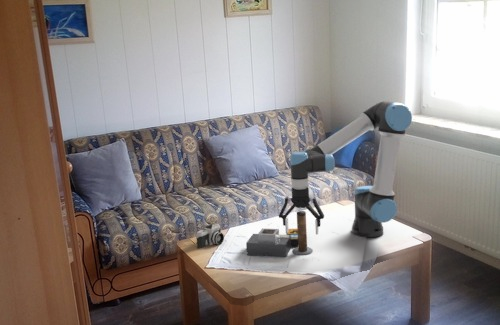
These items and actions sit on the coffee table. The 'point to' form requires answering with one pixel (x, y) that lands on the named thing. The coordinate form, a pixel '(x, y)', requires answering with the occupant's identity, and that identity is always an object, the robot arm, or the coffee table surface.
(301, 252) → the coaster
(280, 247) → the box
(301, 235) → the brown cylinder with cap
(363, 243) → the coffee table surface
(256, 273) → the coffee table surface
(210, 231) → the camera
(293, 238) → the electronic device
